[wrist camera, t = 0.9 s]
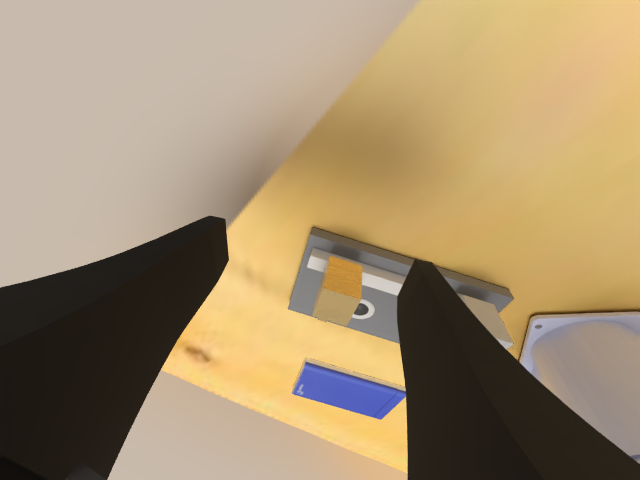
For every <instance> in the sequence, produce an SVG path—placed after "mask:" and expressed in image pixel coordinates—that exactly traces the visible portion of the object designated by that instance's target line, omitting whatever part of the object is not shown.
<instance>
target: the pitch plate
mask: <svg viewBox="0 0 640 480" xmlns="http://www.w3.org/2000/svg"><path fill="white" fill-rule="evenodd" d="M330 256H333V257H336V258H340V259H343V260H346V261H349V262H352V263H356V264H359V265H362V266H363V267H362V291H361V301H360V303H359V305H358V307H357V308H356V310H355V312H354V314H353V316H352V317H351V319H350V321H349V323H348V325H347V326H344V327H347V328H351V329H354V330H357V331H360V332H364V333H367V334H370V335H373V336H376V337H380V338H383V339H386V340H389V341H393V342H396V343H399V344H400V341H399V333H398V325H397V296H398V294H399V292H400V289H401V287H402V285H403V283H404V281H405V279H406V277H407V275H408V273H409V270H410V268H411V266H412V264H413V262H414V260H415V259H412V258H408V257H405V256H402V255H399V254H396V253H393V252H390V251H386V250H383V249H380V248H377V247H374V246H371V245H367V244H364V243H361V242H358V241H355V240H352V239H349V238H345V237H342V236H339V235H336V234H333V233H330V232H326V231H323V230H320V229H317V228H314V227H313V228H312V230H311V233H310V237H309V240H308V243H307V247H306V250H305V253H304V257H303V260H302V263H301V267H300V270H299V273H298V277H297V280H296V283H295V287H294V290H293V293H292V297H291V300H290V303H289V307H288V309H289V310H292V311H296V312H299V313H302V314H305V315H309V316H312V314H313V310H314V306H315V301H316V297H317V293H318V288H319V284H320V281H321V278H322V275H323V273H324V270H325V268H326V265H327V262H328V260H329V257H330ZM435 267H436V268H437V269H438V270H439V272H440V273H441V274H442V275H443V277H444V278H445V279H446V281H447V282H448V283H449V284H450V286H451V287H452V288H453V289H454V291H455V292H456V293H457V294H458V296H459V297H460V298H461V299H462V301H463V302H464V303H465V304H466V305H467V307H468V308H469V309H470V310H471V311H472V313H473V314H474V315H475V316H476V317H477V318H478V320H479V321H480V322H481V323H482V324H483V325H484V326H485V327H486V328H487V330H488V331H489V332H490V333H491V334H492V335H493V336H494V337H495V338H496V339H497V340H498V341H499V343H500V344H501V345H502V346H503V347H504V348H505V349H506V350H507V349H508V348H509V347H511V346H512V345H513V344H514V343H513V341H512V339H511V337H510V335H509V333H508V331H507V329H506V327H505V325H504V323H503V321H502V319H501V317H500V315H499V312H500V311H501V310H502V309H504V308H505V307H506V306H507V305H508V304H509V303H510V302H511V301H512V300H513V299H514V298H513V296H512V294H511V293H510V291H509V289H506V288H503V287H500V286H497V285H494V284H490V283H487V282H484V281H481V280H478V279H475V278H471V277H468V276H465V275H462V274H459V273H456V272H453V271H449V270H446V269H443V268H440V267H437V266H435ZM312 317H314V316H312ZM315 318H318V317H315ZM328 322H331V321H328ZM331 323H334V322H331ZM334 324H337V323H334ZM338 325H340V324H338ZM341 326H343V325H341Z"/></svg>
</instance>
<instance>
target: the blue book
mask: <svg viewBox="0 0 640 480" xmlns="http://www.w3.org/2000/svg"><path fill="white" fill-rule="evenodd" d="M292 394H294V395H297V396H301V397H304V398H308V399H311V400H315V401H318V402H322V403H325V404H329V405H332V406H335V407H339V408H342V409H346V410H349V411H353V412H356V413H360V414H363V415H367V416H370V417H374V418H377V419H382V418H383V417H384V416H385V415H387V414H388V413H389V412H390V411H391V410H392V409H393V408H394V407H395V406H396V405H397V404H398V403H399V402H400V401H401V400H403V399H404V398H405V396H406V388H405V387H403V386H400V385H397V384H394V383H390V382H387V381H384V380H380V379H377V378H374V377H370V376H367V375H364V374H360V373H357V372H354V371H350V370H347V369H344V368H340V367H337V366H334V365H330V364H327V363H324V362H320V361H317V360H314V359H310V358H307V357H306V359H305V361H304V364H303V366H302V368H301V371H300V373H299V375H298V378H297V380H296V382H295V384H294V387H293V391H292Z"/></svg>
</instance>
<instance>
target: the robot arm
mask: <svg viewBox="0 0 640 480" xmlns="http://www.w3.org/2000/svg"><path fill="white" fill-rule="evenodd" d="M228 261H229V256H228V245H227V234H226V222H225V219H223V218H219V217H214V216H208V217H205V218H202V219H200V220H198V221H196V222H193V223H191V224H189V225H186V226H184V227H182V228H179V229H177V230H175V231H173V232H171V233H168V234H166V235H164V236H161V237H159V238H157V239H155V240H152V241H150V242H147V243H145V244H142V245H140V246H138V247H135V248H132V249H130V250H127V251H125V252H122V253H120V254H117V255H114V256H111V257H109V258H105V259H103V260H100V261H97V262H94V263H90V264H88V265H84V266H81V267H78V268H74V269H71V270H67V271H64V272H60V273H56V274H53V275H49V276H46V277H42V278H38V279H34V280H31V281H27V282H22V283H18V284H14V285H10V286H5V287H1V288H0V480H107V479H108V477H109V474H110V472H111V470H112V467H113V465H114V463H115V460H116V459H117V457H118V454H119V452H120V450H121V448H122V446H123V443H124V441H125V439H126V437H127V435H128V433H129V431H130V429H131V427H132V425H133V423H134V420H135V418H136V417H137V414H138V413H139V411H140V408H141V406H142V404H143V402H144V400H145V398H146V396H147V394H148V393H149V391H150V389H151V387H152V385H153V383H154V381H155V379H156V378H157V376H158V374H159V372H160V370H161V368H162V366H163V365H164V363H165V361H166V359H167V357H168V356H169V354H170V352H171V350H172V349H173V347H174V345H175V343H176V342H177V340H178V338H179V337H180V335H181V334H182V332H183V331H184V329H185V328H186V326H187V325H188V324H189V322H190V321H191V319H192V318H193V316H194V315H195V314H196V312H197V311H198V309H199V308H200V306H201V305H202V304H203V302H204V301H205V299H206V298H207V297H208V295H209V294H210V292H211V291H212V289H213V288H214V286H215V285H216V283H217V282H218V280H219V278H220V276H221V275H222V273H223V271H224V269H225V267H226V265H227V263H228ZM397 325H398V333H399V341H400V349H401V356H402V363H403V371H404V378H405V388H406V403H407V440H408V480H640V311H638V312H611V313H583V314H555V315H535V316H533V317H532V318H531V319H530V322H529V326H528V330H527V334H526V338H525V342H524V346H523V350H522V353H521V357H520V361H518V360H517V359H515V358H514V357H513V356H512V355H511V354H510V353H509V352H508V351H507V350H506V349H505V348H504V347H503V346H502V345H501V344H500V343H499V341H498V340H497V339H496V338H495V337H494V336H493V335H492V334H491V333H490V332H489V331H488V330H487V328H486V327H485V326H484V325H483V324H482V323H481V322H480V321H479V320H478V318H477V317H476V316H475V315H474V314H473V313H472V311H471V310H470V309H469V308H468V307H467V305H466V304H465V303H464V302H463V301H462V299H461V298H460V297H459V296H458V294H457V293H456V292H455V291H454V289H453V288H452V287H451V286H450V284H449V283H448V282H447V281H446V279H445V278H444V277H443V275H442V274H441V273H440V272H439V270H438V269H437V268H436V267H435V266H434V265H433V263H432V262H427V261H423V260H418V259H415V260H414V262H413V264H412V266H411V268H410V270H409V273H408V275H407V277H406V279H405V281H404V283H403V285H402V287H401V289H400V292H399V294H398V296H397Z"/></svg>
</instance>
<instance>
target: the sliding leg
mask: <svg viewBox="0 0 640 480" xmlns="http://www.w3.org/2000/svg"><path fill="white" fill-rule="evenodd" d="M362 267H363V266H362V265H359V264H356V263H352V262H349V261H346V260H343V259H340V258H336V257H333V256H330V257H329V260H328V262H327V265H326V268H325V270H324V273H323V275H322V278H321V281H320V284H319V288H318V293H317V297H316V301H315V306H314V310H313V314H312V316H314V317H318V320H321V321H324V322H327V321H331V322H334V323H337V324H340V325H343V326H347V325H348V323H349V321H350V319H351V317H352V316H353V314H354V312H355V310H356V308H357V307H358V305H359V303H360V301H361V291H362Z"/></svg>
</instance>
